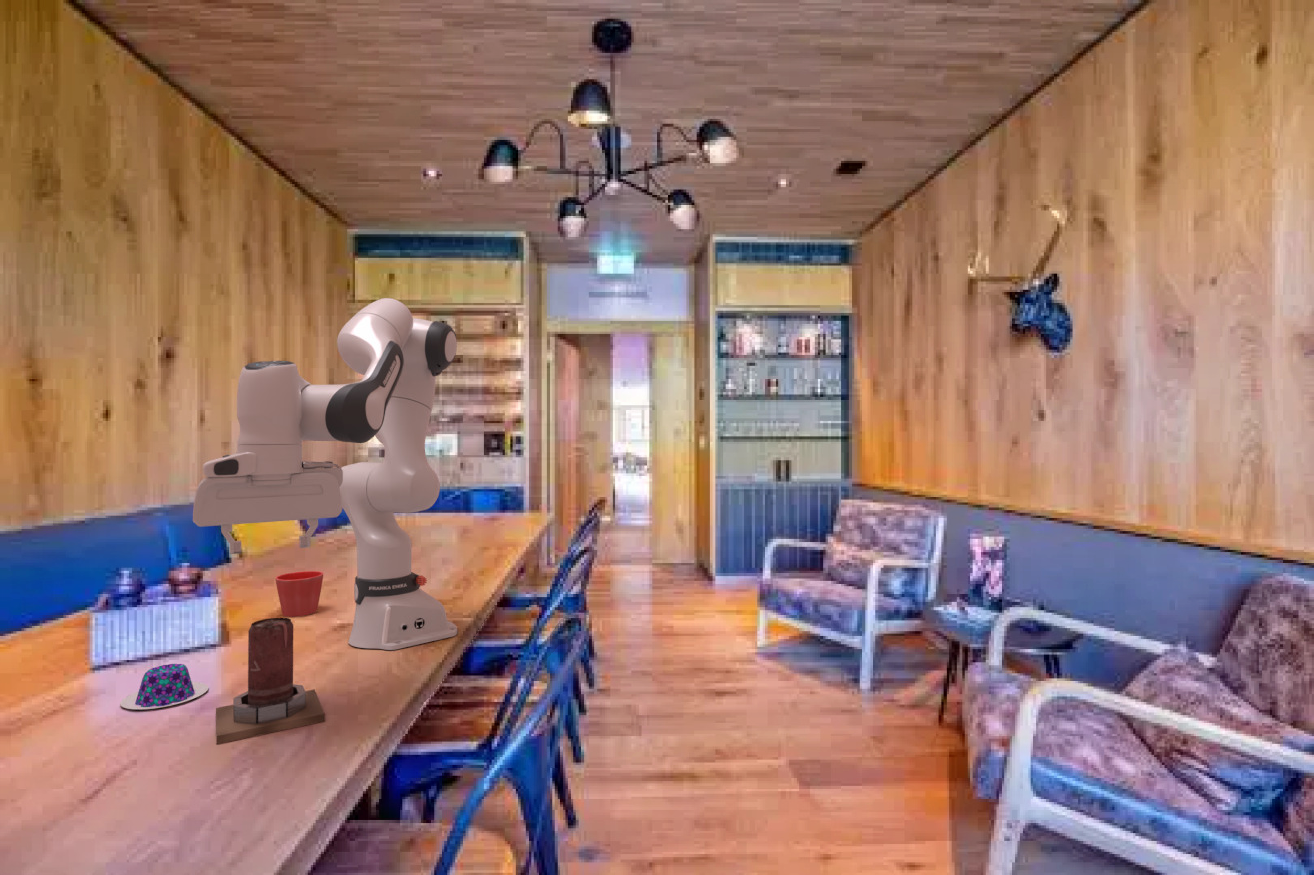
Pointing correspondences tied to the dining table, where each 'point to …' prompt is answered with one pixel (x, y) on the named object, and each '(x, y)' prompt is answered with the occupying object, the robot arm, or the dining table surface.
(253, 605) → the dining table surface
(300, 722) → the holder board
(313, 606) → the flower pot
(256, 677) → the can
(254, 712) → the ring
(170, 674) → the patterned hat
